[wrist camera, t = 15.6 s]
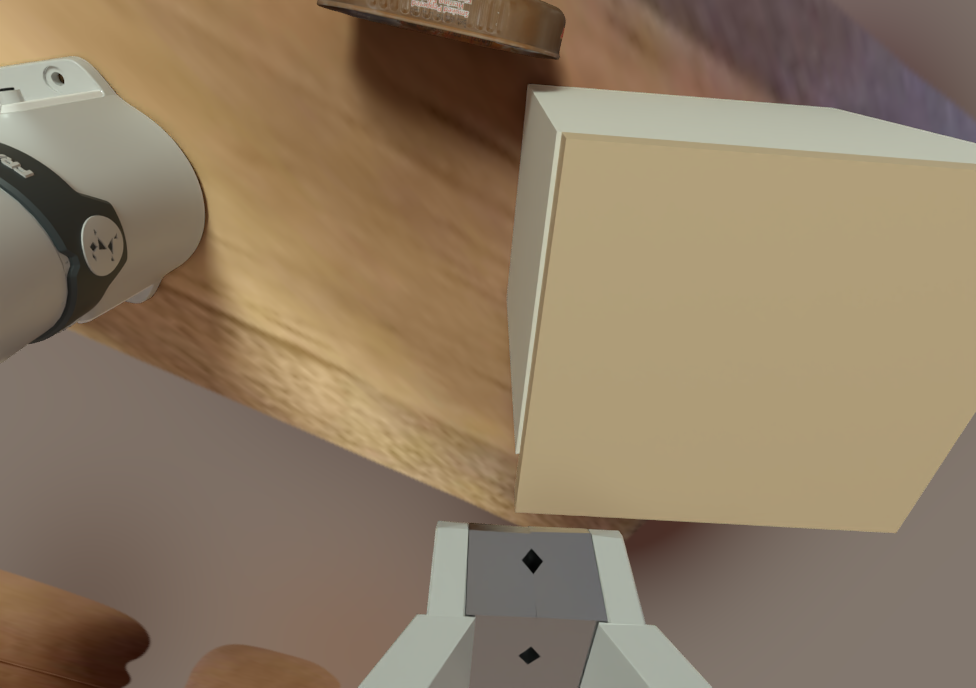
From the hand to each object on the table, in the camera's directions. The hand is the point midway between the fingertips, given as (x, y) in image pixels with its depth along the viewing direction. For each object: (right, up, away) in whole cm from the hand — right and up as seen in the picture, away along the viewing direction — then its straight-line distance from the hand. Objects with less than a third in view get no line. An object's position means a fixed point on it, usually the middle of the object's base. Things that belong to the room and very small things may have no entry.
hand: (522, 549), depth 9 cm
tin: (-3, +26, +28) cm, 38 cm away
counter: (+13, +13, +35) cm, 40 cm away
